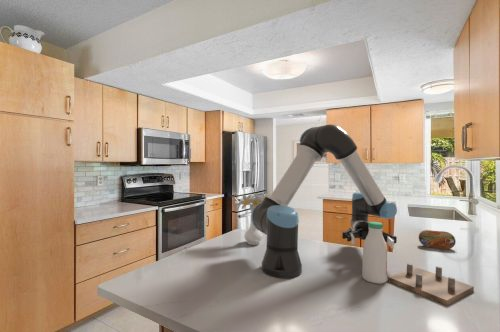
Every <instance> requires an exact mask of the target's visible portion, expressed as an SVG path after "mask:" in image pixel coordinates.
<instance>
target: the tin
mask: <svg viewBox="0 0 500 332" xmlns="http://www.w3.org/2000/svg"><path fill="white" fill-rule="evenodd" d="M418 240H419V242H420V244H421V245H422V246H424V247H426V248H431V249H440V250H441V249H442V250H450V249H452V248H454V246H455V245H456V237H455V236H454V235H453V234H452V233H450V232H448V231H446V230H445V231H444V230H443V231H442V230H431V229H430V230H429V229H425V230H422V231H420V232H419V234H418Z"/></svg>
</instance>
